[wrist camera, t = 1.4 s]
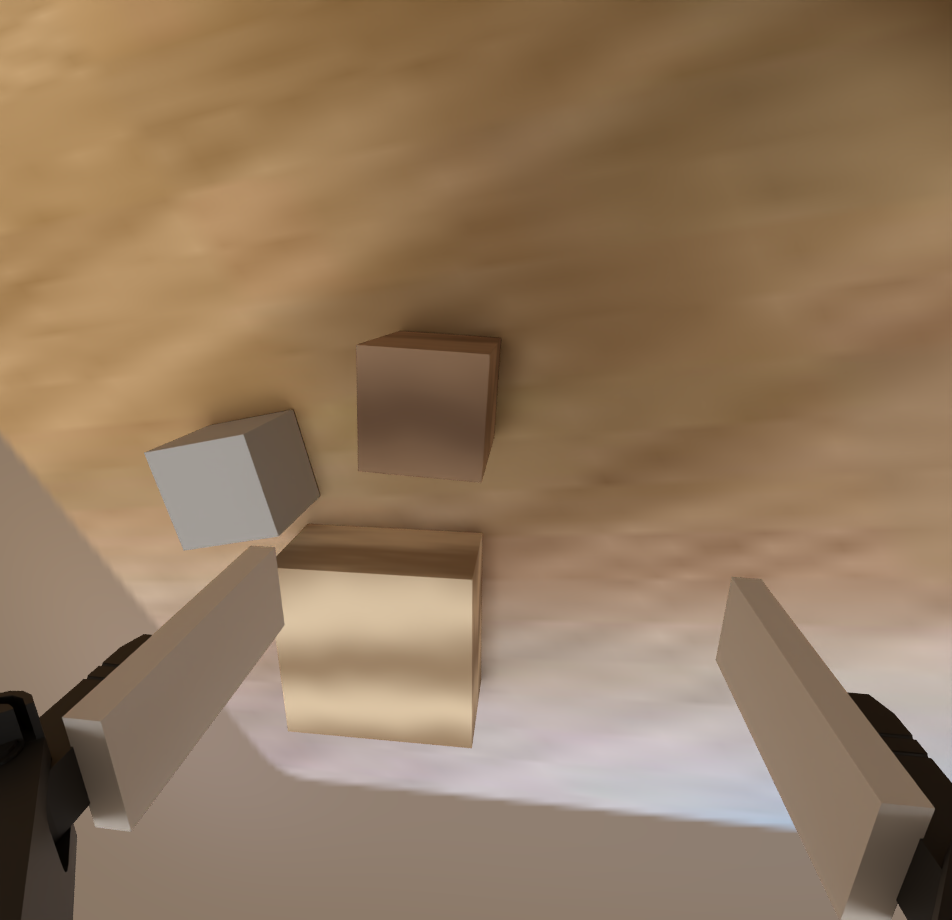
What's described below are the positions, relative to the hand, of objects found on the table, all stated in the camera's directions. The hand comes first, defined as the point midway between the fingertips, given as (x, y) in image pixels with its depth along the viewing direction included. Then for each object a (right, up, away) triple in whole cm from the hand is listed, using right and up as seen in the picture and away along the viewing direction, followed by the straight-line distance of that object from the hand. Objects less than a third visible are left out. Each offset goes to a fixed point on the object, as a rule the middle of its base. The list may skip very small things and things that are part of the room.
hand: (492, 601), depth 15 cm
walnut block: (-2, +9, +16) cm, 19 cm away
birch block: (-6, -6, +22) cm, 24 cm away
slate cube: (-14, +4, +19) cm, 24 cm away
